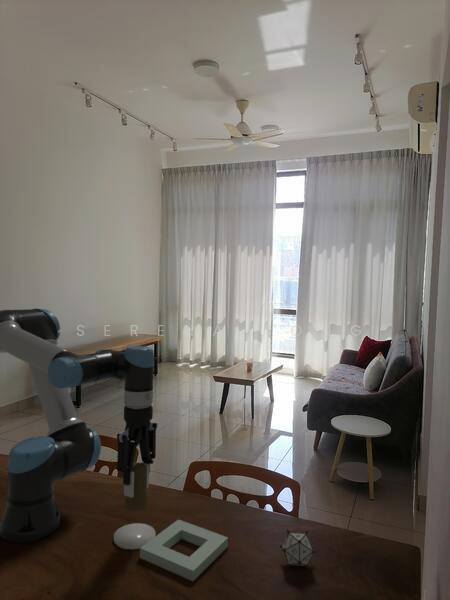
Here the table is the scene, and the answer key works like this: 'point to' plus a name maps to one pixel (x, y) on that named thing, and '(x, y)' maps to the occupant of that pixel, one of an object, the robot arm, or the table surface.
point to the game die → (297, 549)
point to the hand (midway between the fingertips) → (136, 491)
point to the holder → (178, 562)
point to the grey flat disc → (133, 536)
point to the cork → (138, 489)
